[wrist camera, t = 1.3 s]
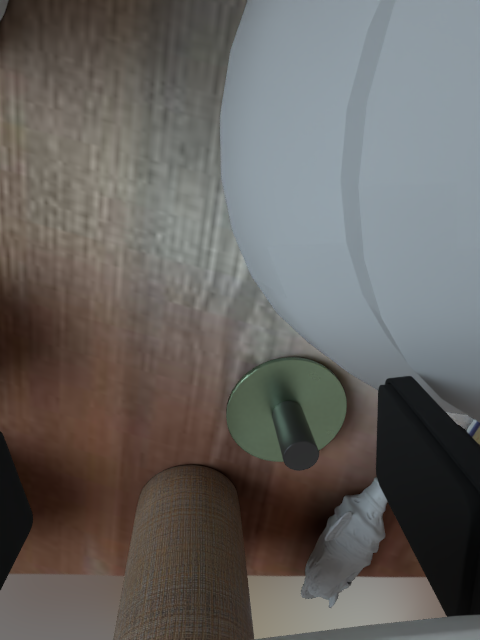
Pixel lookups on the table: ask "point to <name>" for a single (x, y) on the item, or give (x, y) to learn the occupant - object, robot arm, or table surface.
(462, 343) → the vase
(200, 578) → the planter
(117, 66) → the table surface
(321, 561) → the seahorse
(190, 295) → the table surface
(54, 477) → the table surface
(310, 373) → the lid
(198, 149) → the table surface
